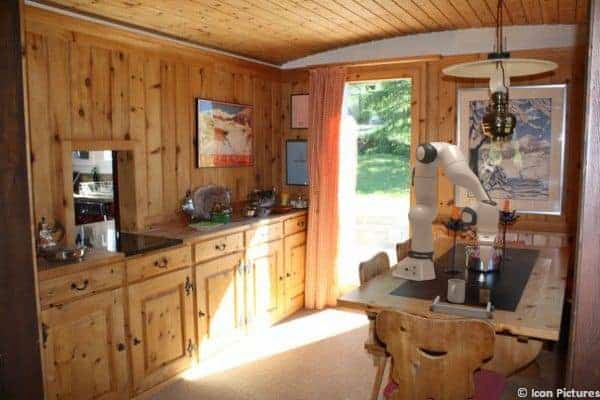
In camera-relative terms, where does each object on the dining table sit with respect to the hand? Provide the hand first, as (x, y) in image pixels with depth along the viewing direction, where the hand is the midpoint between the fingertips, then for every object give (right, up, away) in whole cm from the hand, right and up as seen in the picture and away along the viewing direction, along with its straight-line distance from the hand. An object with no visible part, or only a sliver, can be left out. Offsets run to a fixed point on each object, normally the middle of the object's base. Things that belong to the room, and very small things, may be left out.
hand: (485, 268), depth 220 cm
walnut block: (0, -15, +2) cm, 15 cm away
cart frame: (-14, -16, -10) cm, 23 cm away
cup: (-13, -15, +2) cm, 20 cm away
